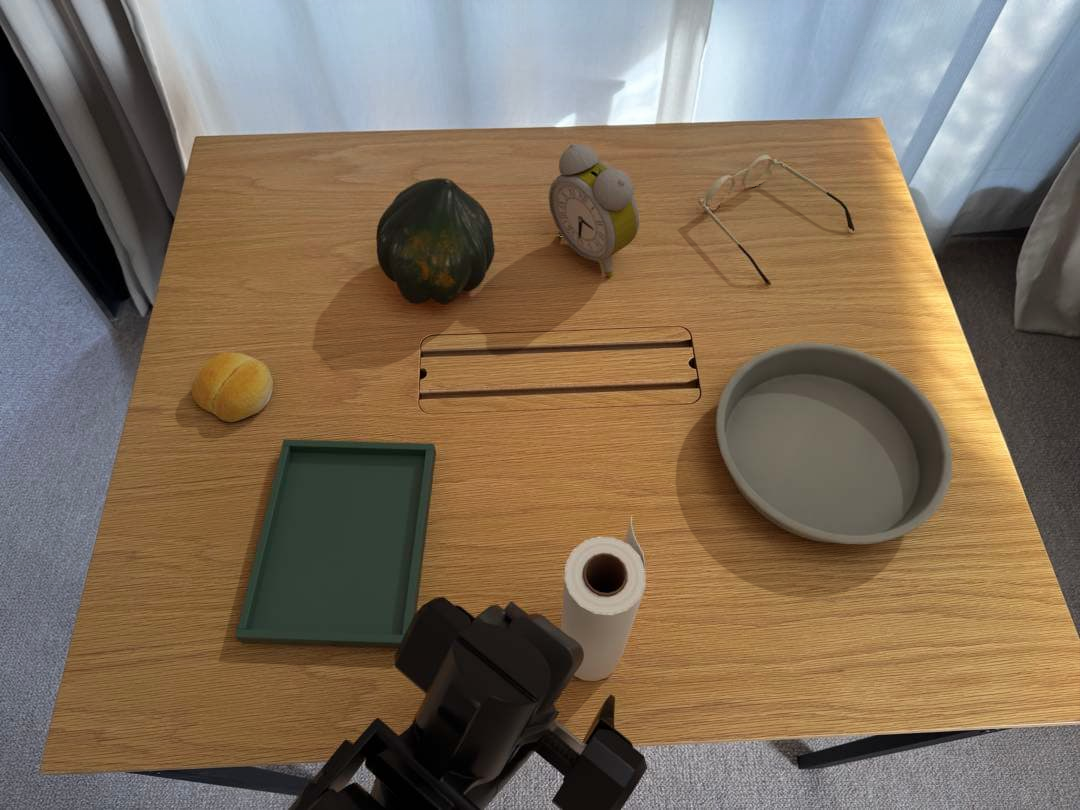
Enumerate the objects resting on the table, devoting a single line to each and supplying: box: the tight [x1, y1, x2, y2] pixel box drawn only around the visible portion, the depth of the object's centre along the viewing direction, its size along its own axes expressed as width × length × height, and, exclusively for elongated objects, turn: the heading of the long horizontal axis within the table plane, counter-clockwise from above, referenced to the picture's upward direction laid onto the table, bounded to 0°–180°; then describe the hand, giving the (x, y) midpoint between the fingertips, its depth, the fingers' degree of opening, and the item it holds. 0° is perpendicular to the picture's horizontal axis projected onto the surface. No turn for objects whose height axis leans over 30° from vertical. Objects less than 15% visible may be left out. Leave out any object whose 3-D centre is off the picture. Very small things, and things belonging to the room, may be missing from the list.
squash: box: [375, 177, 496, 306], centre depth 94 cm, size 14×15×15 cm
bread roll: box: [191, 351, 274, 423], centre depth 88 cm, size 8×9×4 cm
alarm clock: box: [548, 143, 640, 278], centre depth 95 cm, size 12×7×15 cm, turn 41°
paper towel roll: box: [560, 515, 647, 682], centre depth 65 cm, size 7×6×21 cm
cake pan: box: [715, 342, 953, 545], centre depth 83 cm, size 25×25×4 cm
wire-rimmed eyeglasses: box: [697, 154, 856, 286], centre depth 102 cm, size 17×15×5 cm
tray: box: [234, 439, 437, 649], centre depth 79 cm, size 22×17×2 cm
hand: (562, 662), depth 61 cm, fingers open, 9 cm apart
